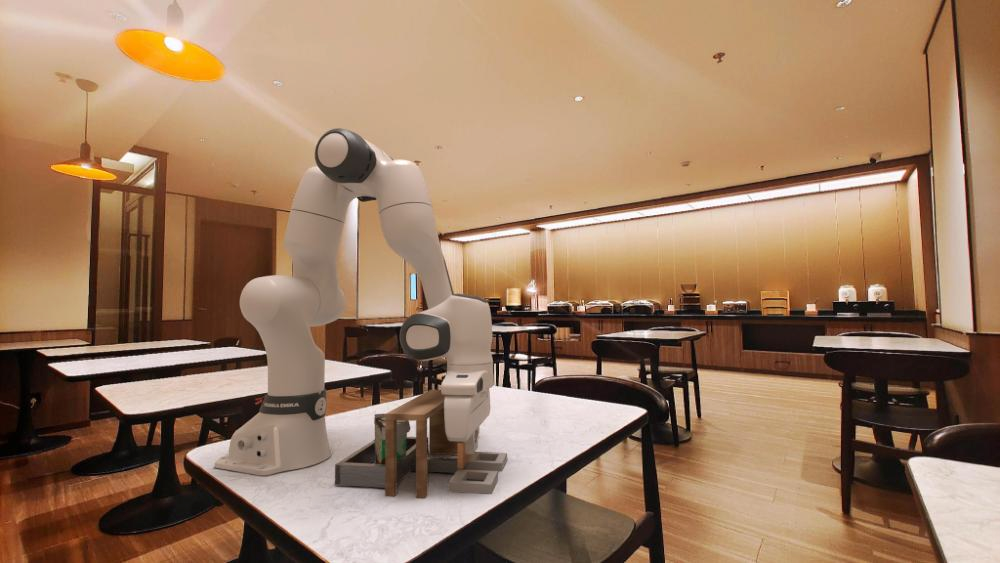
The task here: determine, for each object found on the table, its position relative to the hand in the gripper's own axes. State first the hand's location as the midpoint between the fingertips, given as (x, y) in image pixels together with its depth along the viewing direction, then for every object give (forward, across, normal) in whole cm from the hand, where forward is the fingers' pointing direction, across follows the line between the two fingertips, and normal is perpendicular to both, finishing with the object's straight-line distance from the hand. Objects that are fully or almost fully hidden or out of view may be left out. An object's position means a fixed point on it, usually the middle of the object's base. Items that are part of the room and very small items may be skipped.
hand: (471, 451), depth 78 cm
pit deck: (+4, 0, +2) cm, 4 cm away
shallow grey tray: (+4, 0, -12) cm, 12 cm away
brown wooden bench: (+4, 0, -9) cm, 10 cm away
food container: (+4, +1, -15) cm, 16 cm away
